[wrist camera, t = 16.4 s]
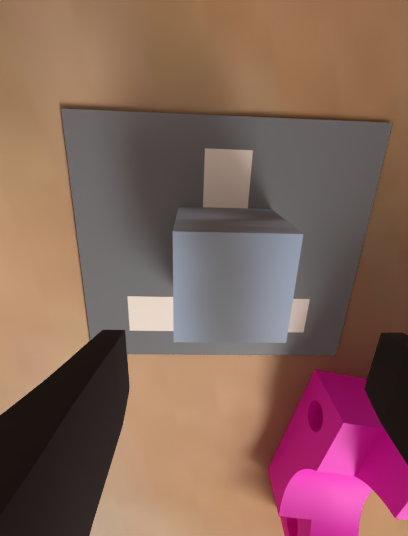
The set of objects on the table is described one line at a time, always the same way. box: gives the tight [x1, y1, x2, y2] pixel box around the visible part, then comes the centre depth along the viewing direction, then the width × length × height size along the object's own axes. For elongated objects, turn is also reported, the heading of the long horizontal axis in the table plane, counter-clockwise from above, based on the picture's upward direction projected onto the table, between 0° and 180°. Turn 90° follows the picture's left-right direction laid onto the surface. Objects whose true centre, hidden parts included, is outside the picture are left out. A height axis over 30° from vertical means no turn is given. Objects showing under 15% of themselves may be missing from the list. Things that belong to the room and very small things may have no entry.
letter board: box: [61, 108, 393, 356], centre depth 17 cm, size 16×14×1 cm
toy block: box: [268, 370, 408, 536], centre depth 21 cm, size 15×6×8 cm, turn 166°
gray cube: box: [173, 207, 303, 343], centre depth 15 cm, size 5×5×5 cm
